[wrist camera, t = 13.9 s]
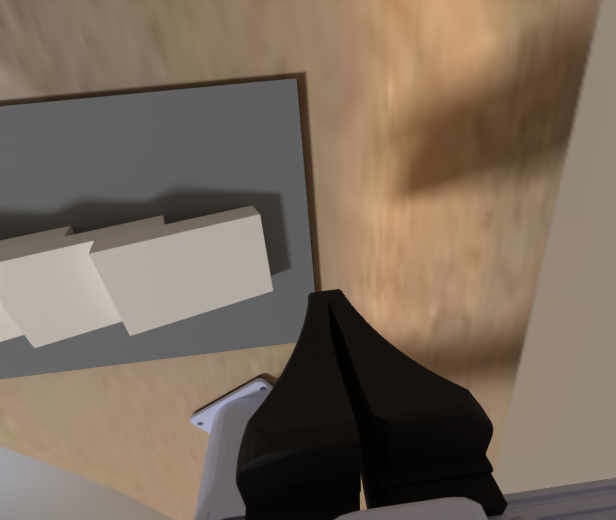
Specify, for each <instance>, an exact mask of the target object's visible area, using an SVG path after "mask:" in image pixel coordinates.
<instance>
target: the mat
mask: <svg viewBox="0 0 616 520" xmlns="http://www.w3.org/2000/svg"><path fill="white" fill-rule="evenodd" d="M251 205H252V206H253V207H254V208H255V209H256V210H257V211H258V212H259V214H260V217H261V223H262V229H263V235H264V240H265V246H266V252H267V258H268V264H269V269H270V275H271V281H272V287H273V291H271V292H268V293H265V294H262V295H259V296H256V297H252V298H249V299H246V300H243V301H240V302H237V303H233V304H230V305H227V306H224V307H221V308H218V309H214V310H211V311H208V312H205V313H202V314H199V315H195V316H192V317H189V318H186V319H183V320H179V321H176V322H173V323H170V324H167V325H164V326H160V327H157V328H154V329H151V330H148V331H145V332H141V333H138V334H135V335H132V336H130V335H129V333H128V331H127V329H126V327H125V325H124V323H123V321H122V322H119V323H116V324H112V325H109V326H106V327H103V328H99V329H96V330H93V331H89V332H86V333H83V334H80V335H76V336H73V337H70V338H66V339H63V340H60V341H57V342H53V343H50V344H47V345H43V346H40V347H37V348H34V347H33V346H32V344H31V343H30V342H29V340H28V339H27V338H26V336H25V335H22V336H19V337H15V338H12V339H9V340H5V341H2V342H0V379H6V378H14V377H22V376H30V375H38V374H46V373H54V372H62V371H70V370H78V369H86V368H94V367H102V366H110V365H118V364H126V363H134V362H142V361H150V360H158V359H166V358H174V357H183V356H191V355H199V354H207V353H215V352H223V351H231V350H239V349H247V348H255V347H263V346H271V345H279V344H287V343H295V342H297V341H298V339H299V336H300V333H301V330H302V327H303V324H304V320H305V316H306V312H307V306H308V295H309V294H310V293H312V292H315V287H314V275H313V264H312V252H311V240H310V229H309V217H308V206H307V194H306V183H305V171H304V160H303V148H302V137H301V125H300V114H299V102H298V90H297V79H296V78H294V79H284V80H273V81H263V82H252V83H242V84H231V85H221V86H210V87H199V88H189V89H178V90H168V91H157V92H147V93H136V94H125V95H115V96H104V97H94V98H83V99H73V100H62V101H51V102H41V103H30V104H20V105H9V106H0V240H5V239H10V238H15V237H19V236H24V235H29V234H33V233H38V232H43V231H48V230H52V229H57V228H62V227H67V226H71V227H72V229H73V231H74V233H75V234H78V233H83V232H88V231H92V230H97V229H101V228H106V227H111V226H115V225H120V224H124V223H129V222H133V221H138V220H143V219H147V218H152V217H156V216H161V215H163V216H164V219H165V222H166V224H170V223H175V222H179V221H184V220H188V219H193V218H197V217H202V216H206V215H211V214H215V213H220V212H224V211H229V210H233V209H238V208H242V207H247V206H251Z"/></svg>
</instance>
